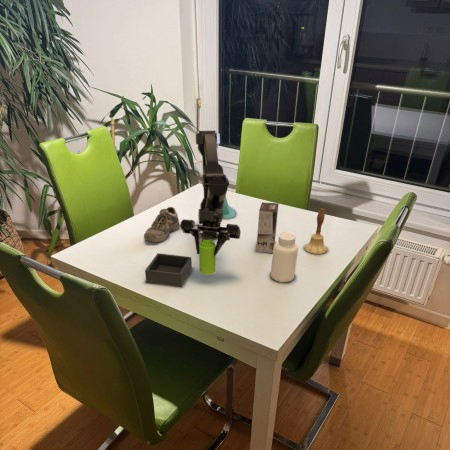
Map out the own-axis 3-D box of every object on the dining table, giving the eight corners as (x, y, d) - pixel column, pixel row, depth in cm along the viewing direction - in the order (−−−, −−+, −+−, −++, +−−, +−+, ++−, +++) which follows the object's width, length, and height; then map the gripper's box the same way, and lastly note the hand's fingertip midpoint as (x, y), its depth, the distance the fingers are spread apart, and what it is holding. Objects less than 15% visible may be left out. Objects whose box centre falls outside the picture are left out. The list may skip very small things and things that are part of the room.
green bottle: (196, 268, 135) (196, 234, 128) (211, 265, 137) (210, 230, 130) (203, 276, 131) (203, 240, 124) (218, 272, 133) (218, 237, 126)
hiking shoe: (134, 236, 157) (146, 212, 150) (161, 222, 174) (174, 199, 167) (152, 252, 157) (166, 228, 150) (178, 235, 174) (191, 214, 167)
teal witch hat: (220, 201, 195) (220, 183, 191) (242, 216, 181) (243, 197, 176) (197, 205, 191) (197, 187, 186) (217, 221, 176) (218, 201, 171)
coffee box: (272, 253, 152) (276, 212, 143) (255, 251, 153) (258, 210, 144) (275, 242, 160) (279, 202, 151) (259, 241, 161) (261, 201, 152)
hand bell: (306, 242, 160) (312, 203, 151) (328, 246, 158) (335, 206, 149) (302, 252, 154) (308, 211, 145) (325, 255, 151) (332, 215, 142)
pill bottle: (288, 285, 134) (293, 243, 126) (266, 278, 137) (270, 237, 129) (298, 274, 140) (303, 234, 131) (276, 268, 143) (280, 228, 135)
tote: (158, 264, 144) (157, 253, 141) (191, 268, 142) (191, 257, 140) (146, 282, 134) (144, 270, 132) (181, 286, 132) (181, 274, 130)
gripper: (180, 194, 125) (171, 243, 123) (240, 200, 123) (232, 250, 120) (188, 209, 136) (180, 254, 134) (243, 214, 133) (236, 260, 131)
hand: (206, 254), depth 129 cm, fingers closed on green bottle, 5 cm apart
